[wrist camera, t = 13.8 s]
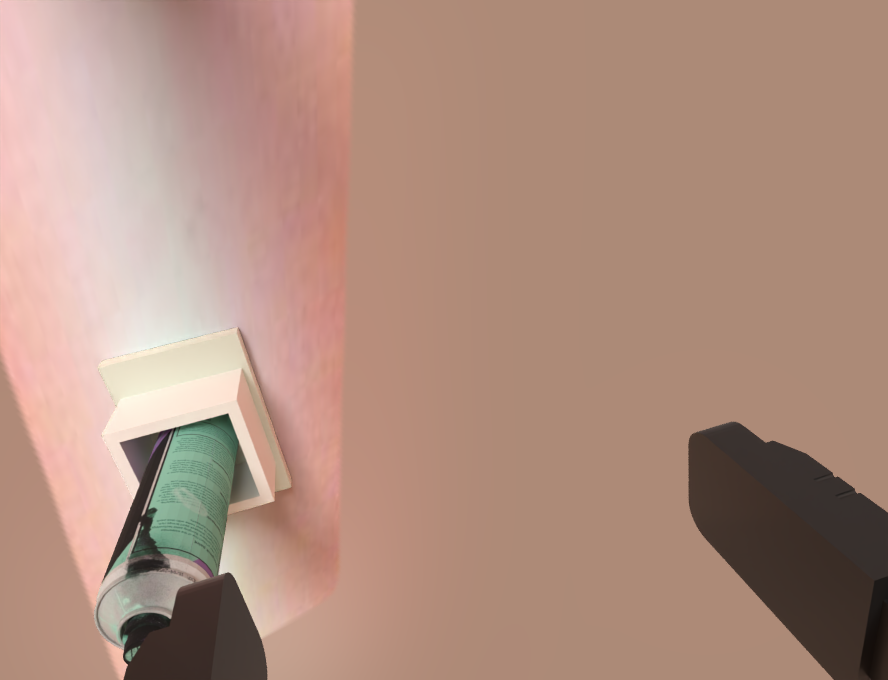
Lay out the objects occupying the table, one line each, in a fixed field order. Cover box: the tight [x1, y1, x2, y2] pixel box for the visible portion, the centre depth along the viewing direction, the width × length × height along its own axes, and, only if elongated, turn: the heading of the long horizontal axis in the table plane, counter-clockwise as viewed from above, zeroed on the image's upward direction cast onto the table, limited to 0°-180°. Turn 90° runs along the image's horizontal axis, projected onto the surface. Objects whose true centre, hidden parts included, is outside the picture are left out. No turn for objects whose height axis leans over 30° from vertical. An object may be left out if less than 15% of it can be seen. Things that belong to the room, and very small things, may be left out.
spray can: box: [94, 413, 239, 665], centre depth 37 cm, size 6×6×20 cm
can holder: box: [98, 327, 291, 515], centre depth 44 cm, size 14×10×6 cm
